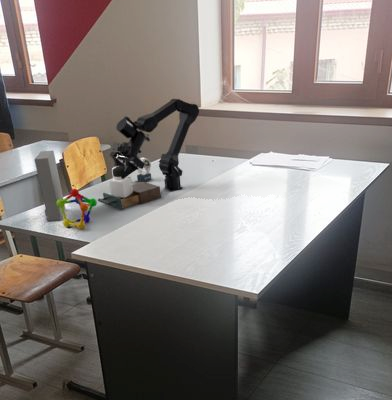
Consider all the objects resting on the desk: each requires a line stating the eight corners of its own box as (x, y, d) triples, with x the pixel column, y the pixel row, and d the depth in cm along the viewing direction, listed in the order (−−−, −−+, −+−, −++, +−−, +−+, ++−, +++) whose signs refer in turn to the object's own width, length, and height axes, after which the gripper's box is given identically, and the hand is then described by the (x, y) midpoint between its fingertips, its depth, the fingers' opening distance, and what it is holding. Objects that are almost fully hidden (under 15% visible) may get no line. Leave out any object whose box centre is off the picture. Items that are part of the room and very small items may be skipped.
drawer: (125, 197, 231) (124, 186, 228) (142, 202, 222) (141, 192, 219) (96, 205, 222) (94, 195, 220) (112, 212, 214) (110, 201, 211)
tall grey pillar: (51, 210, 221) (38, 151, 208) (65, 209, 221) (53, 150, 208) (46, 221, 209) (32, 159, 196) (61, 220, 209) (47, 158, 196)
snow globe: (146, 183, 249) (144, 160, 243) (135, 181, 254) (132, 158, 248) (154, 180, 253) (152, 157, 247) (142, 178, 257) (140, 155, 251)
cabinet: (144, 192, 236) (143, 181, 233) (160, 197, 228) (159, 186, 225) (124, 198, 230) (122, 187, 227) (140, 203, 222) (139, 192, 219)
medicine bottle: (133, 192, 223) (130, 165, 216) (124, 198, 218) (121, 170, 211) (120, 191, 226) (116, 164, 219) (111, 196, 220) (106, 168, 214)
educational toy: (104, 222, 207) (101, 186, 198) (87, 234, 197) (83, 196, 188) (71, 216, 211) (67, 180, 203) (53, 227, 201) (48, 190, 193)
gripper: (109, 131, 216) (92, 163, 217) (134, 136, 204) (116, 170, 204) (127, 146, 225) (111, 177, 225) (152, 151, 212) (135, 184, 213)
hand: (117, 177), depth 217 cm, fingers closed on medicine bottle, 6 cm apart
